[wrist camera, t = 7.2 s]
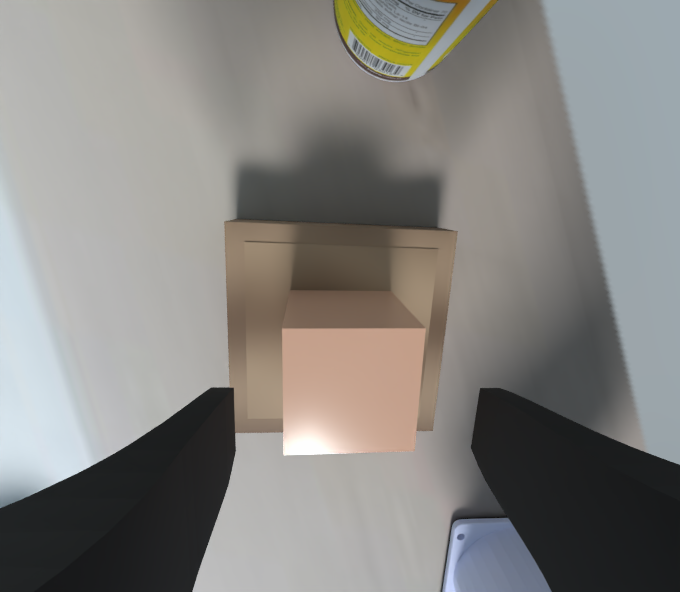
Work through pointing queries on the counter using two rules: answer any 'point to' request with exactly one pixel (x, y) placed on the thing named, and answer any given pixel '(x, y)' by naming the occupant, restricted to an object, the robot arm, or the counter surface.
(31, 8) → the counter surface
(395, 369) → the peach tan block
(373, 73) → the supplement bottle
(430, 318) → the tan brown tray
